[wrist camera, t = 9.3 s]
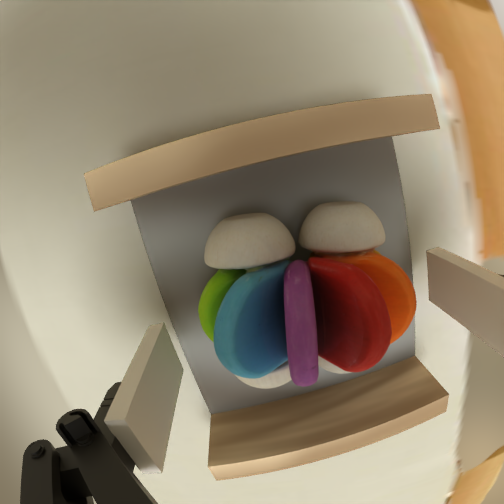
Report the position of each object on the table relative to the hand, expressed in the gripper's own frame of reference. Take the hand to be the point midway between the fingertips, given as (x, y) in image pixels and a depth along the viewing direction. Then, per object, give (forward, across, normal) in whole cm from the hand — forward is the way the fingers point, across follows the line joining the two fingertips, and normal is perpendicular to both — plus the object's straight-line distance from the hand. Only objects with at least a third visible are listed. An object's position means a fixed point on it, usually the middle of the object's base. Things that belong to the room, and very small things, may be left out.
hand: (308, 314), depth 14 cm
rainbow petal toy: (+3, 0, 0) cm, 3 cm away
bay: (+3, 0, 0) cm, 3 cm away
